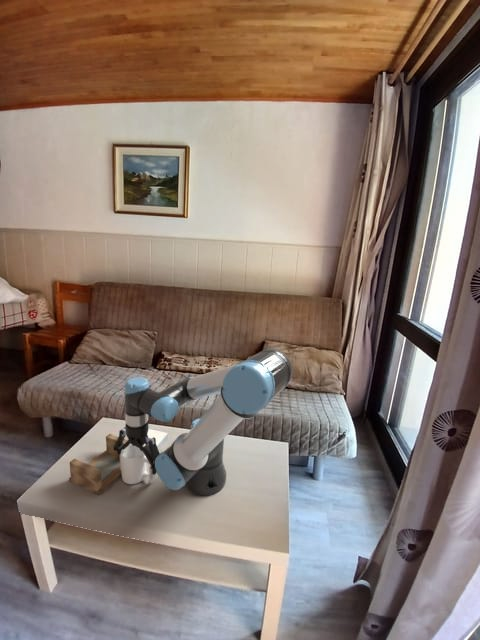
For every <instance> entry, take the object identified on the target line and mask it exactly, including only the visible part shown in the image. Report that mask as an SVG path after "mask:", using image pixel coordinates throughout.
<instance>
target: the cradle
mask: <svg viewBox="0 0 480 640" xmlns="http://www.w3.org/2000/svg"><path fill="white" fill-rule="evenodd" d="M118 437H119V436H117V435H114V434H113V433H112V434H111V433H109V434H107V435H106V436H105V443H106V449H105V451H103V452H102V453H101V454H99V455H97V457H95V458H94V459H92V460H91V461H90V462H88V463H86V462H83V461H81V460H79V459H77V458H73V459H72V460H70V461H69V472H70V477H69V478H68V480H69V481H68V482H70V483H72V484H74V485H76V486H79V487H81V488H83V489H85V490H87V491H90V492H92V493H94V494H95V495H97V496H101V495H102V494H103V493H105V491H107V490H108V489H109V488H110V487H111V485H113V484H114V483H115V482H116V481H117V480H119V478H121V477H122V472H121V470H120V460H119V459H118V453H117V451H114V449H113V448H114V446H115V444H116V441H117V439H118ZM127 441H128V439H125V438H124V440H123V443H122V445H121V447H122V446H123V445H124V444H125V443H126V442H127Z"/></svg>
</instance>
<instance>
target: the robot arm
mask: <svg viewBox="0 0 480 640" xmlns="http://www.w3.org/2000/svg"><path fill="white" fill-rule="evenodd" d="M293 370H294V369H293V364H292V361H291V359H290V358H289V357H288V355H287V354H285V353H284V352H283V351H281V350H279V349H276V348H267V349H264V350H261V351H259V352H258V353H256V354H254V355H250V356H248V358H247V359H246V360H245V359H244V361H241V362H238V363H235V364H233V365H229V366H226V367H223V368H219V369H216V370H212V371H209V372H207V373H204V374H199V375H197V376H189V377H186V378H183V379H182V380H181V381H178V382H177V383H175V384H172V385H171V386H169V387H167V388H165V389H162V390H160V391H156V390H154V389H151V388H150V385H149V381H148V379H147V378H145V377H141V376H139V377H132V378H129V379H127V380H126V382H125V383H124V393H123V394H124V408H125V409H124V410H125V411H124V412H125V413H124V414H125V416H124V418H125V419H124V420H125V422H124V423H125V427H123V428H121V429H120V430H119V434H118V436H117V437H118V439H117V441H116V444H115V446H114V448H113V449H114V451H117V453H118V459H119V460H120V470H121V451H122V449H123V450H124V449H125V448H126V447H128V446H129V445H130V444H132V445H133V446H136V447H138V448H140V450H141V451H143V453H144V454H145V456H146V458H147V460H148V461H149V463H150V465H151V466H150V465H149V466H148V468H149V469H148V473H149V479H148V480H149V483H150V484H152V483H153V482H154V481H155V479H157V476H158V478H159V479H160V481H161V482H162V483H163V484H164V485H165V486H166V487H167V488H169V489H170V490H173V491H179V490H180V489H181V488H183V487H186V488H187V489H188V491H189V492H191V493H192V494H196V495H199V496H210V495H211V496H212V495H215V494H217V493H219V492H220V491H221V490H222V489H223V488H224V487H225V485H226V482H227V471H226V468H225V464H224V461H223V459H224V457H223V455H224V445H225V444H224V442H225V438H226V437H227V436H228V435H229V434H230V433H231V432H232V431H233V430H234V429H235V428H236V427H237V426H238V425H239V424H240V423H241V422H242V421H243V420H250V419H253V418H255V417H256V416H257V415H258V414H259V413H260V412H261V411H262V410H264V408H265V407H267V405H268V404H270V403H271V401H272V400H273V399H274V398H275V397H276V396H277V395H278V394H280V392H282V391H283V390H285V388H286V387H287V386H288V385H289V384H290V382H291V380H292V378H293ZM215 395H220V396H219V397H218V398H217V399H216V400H215V401H214V403H212V405H211V406H210V407H209V408H208V410H206V412H205V413H204V414H203V415H202V416H201V417H200V418H199V417H198V418H196V419H194V420H193V421H192V422H191V424H190V430H189V431H188V432H184V433H181V434H179V436H177V438H176V439H174V441H173V442H172V443H171V444H170V445H169V446H168V447H167V448H166V449H165V450H164V451H161V452H160V451H159V450H160V449H159V450H158V448H157V445H156V439H155V438H154V437H153V438H152V439H151V438H148V435H147V433H148V429H150V428H149V417H151V418H153V419H155V420H158V421H160V422H164V423H168V422H169V423H170V422H171V421H172V420H174V417H176V416H177V414H178V411H179V408H180V407H181V406H183V405H185V404H186V403H188V402H192V401H195V400H198V399H203V398H207V397H212V396H215ZM125 438H127V440H128V441H127V442H126V443H125V444H124V445H123V446H122V447H121V445H122V443H123V440H124V439H125ZM144 444H146V445H145V446H144V447H143V445H144Z"/></svg>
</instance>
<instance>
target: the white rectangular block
mask: <svg viewBox="0 0 480 640" xmlns="http://www.w3.org/2000/svg"><path fill="white" fill-rule="evenodd" d="M147 435H148V438H151V439H152V438H153V437H154V438H155V439H156V445H157V448H158V450H160V449H161V447H163V445H164V443H166V442H167V440H168V439H169V433H168V432H165V431H159V430H155V429H151V428H149V429H148V433H147ZM145 445H146V444H144V446H145Z"/></svg>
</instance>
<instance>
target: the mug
mask: <svg viewBox="0 0 480 640" xmlns="http://www.w3.org/2000/svg"><path fill="white" fill-rule="evenodd" d="M143 447H144V445H143ZM147 464H148V465H149V467H150V466H151V465H150V463H149V461H148V460H147V458H146V456H145V454H144V453H143V451H141V450H140V448H138V447H136V446H133V445H132V444H130V445H129V446H128V447H126V448H125V449H124V450H123V449H122V451H121V472H122V476H121V479H122V481H123V482H124V484H128V485H136V484H139V483H141V482H142V481H143V480H144V479H146V478H148V477H149V471H147V470H148V469H147V466H148V465H147Z"/></svg>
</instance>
